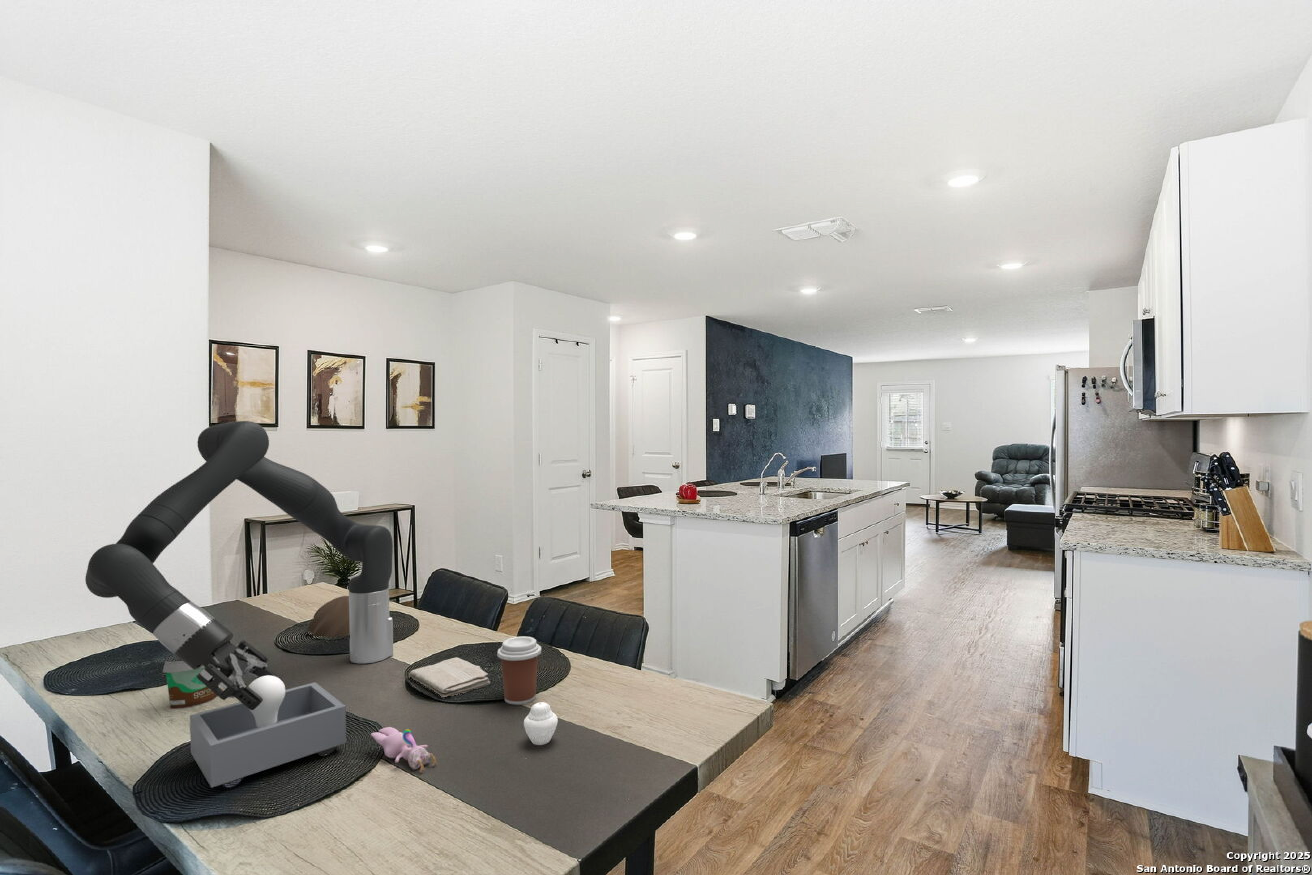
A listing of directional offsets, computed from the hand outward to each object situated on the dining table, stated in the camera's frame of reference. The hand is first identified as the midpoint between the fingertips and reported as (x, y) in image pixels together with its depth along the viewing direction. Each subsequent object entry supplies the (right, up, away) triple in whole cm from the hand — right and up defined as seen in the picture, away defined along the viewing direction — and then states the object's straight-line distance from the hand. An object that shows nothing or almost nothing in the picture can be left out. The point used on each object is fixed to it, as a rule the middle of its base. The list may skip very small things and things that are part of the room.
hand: (268, 695), depth 113 cm
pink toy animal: (+24, -11, -1) cm, 26 cm away
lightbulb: (0, -8, 0) cm, 8 cm away
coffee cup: (+39, -10, +23) cm, 47 cm away
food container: (-29, -11, +25) cm, 40 cm away
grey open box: (0, -11, 0) cm, 11 cm away
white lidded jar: (+47, -10, +4) cm, 48 cm away
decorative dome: (-22, -11, +73) cm, 77 cm away
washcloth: (+21, -11, +34) cm, 41 cm away
